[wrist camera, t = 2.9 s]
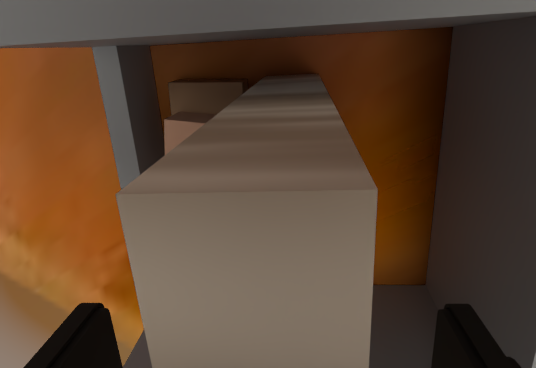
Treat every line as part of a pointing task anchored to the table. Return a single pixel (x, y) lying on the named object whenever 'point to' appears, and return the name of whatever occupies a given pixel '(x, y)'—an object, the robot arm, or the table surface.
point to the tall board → (257, 237)
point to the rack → (451, 149)
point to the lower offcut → (204, 94)
